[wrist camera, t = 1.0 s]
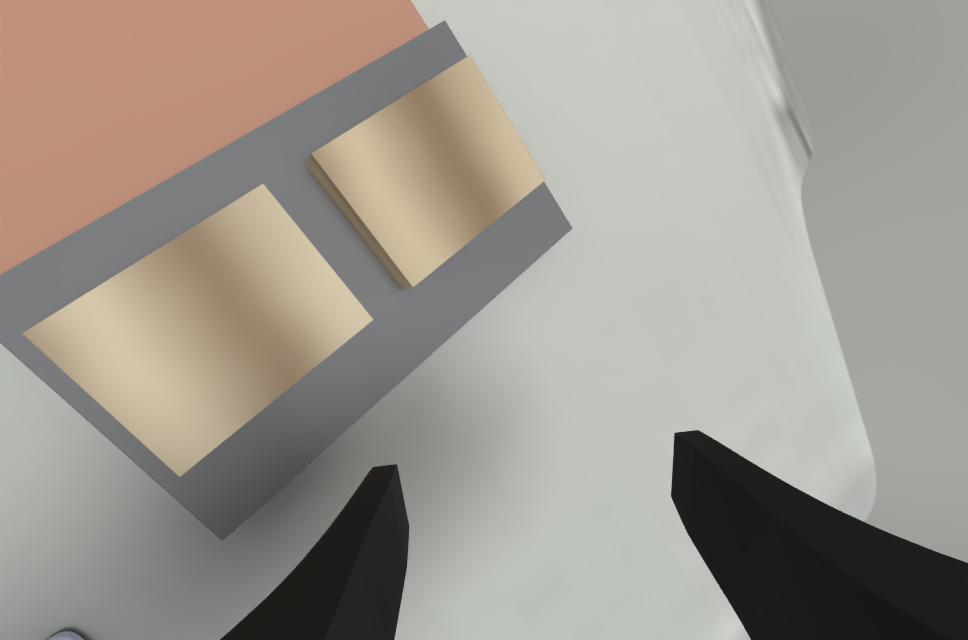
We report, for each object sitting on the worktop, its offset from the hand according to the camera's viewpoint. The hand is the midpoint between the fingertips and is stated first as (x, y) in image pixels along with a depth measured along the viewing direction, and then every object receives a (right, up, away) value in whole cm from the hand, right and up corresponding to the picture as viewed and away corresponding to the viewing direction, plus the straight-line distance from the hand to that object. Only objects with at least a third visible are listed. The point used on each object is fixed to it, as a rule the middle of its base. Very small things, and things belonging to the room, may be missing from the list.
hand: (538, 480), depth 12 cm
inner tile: (-11, +4, +5) cm, 12 cm away
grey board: (-8, +7, +9) cm, 13 cm away
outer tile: (-4, +10, +8) cm, 14 cm away
